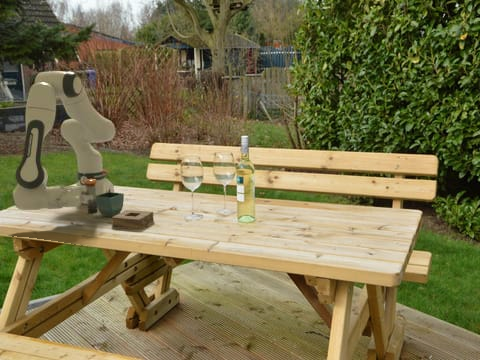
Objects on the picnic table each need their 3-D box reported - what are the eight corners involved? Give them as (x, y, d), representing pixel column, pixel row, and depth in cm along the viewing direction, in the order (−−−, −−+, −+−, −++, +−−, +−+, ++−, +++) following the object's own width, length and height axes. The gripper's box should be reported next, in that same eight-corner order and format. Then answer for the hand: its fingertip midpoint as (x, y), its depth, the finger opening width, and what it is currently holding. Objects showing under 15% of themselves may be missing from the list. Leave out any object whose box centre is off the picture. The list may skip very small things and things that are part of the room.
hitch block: (127, 219, 222) (126, 209, 222) (153, 221, 219) (153, 211, 218) (112, 227, 211) (111, 217, 210) (139, 229, 208) (139, 219, 207)
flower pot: (95, 216, 227) (94, 195, 226) (109, 211, 235) (108, 191, 233) (111, 219, 223) (110, 197, 222) (125, 214, 231) (124, 193, 229)
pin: (90, 210, 219) (88, 178, 216) (101, 211, 217) (98, 179, 214) (84, 213, 214) (81, 181, 211) (94, 214, 213) (92, 181, 210)
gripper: (53, 195, 201) (92, 193, 204) (59, 184, 220) (94, 182, 223) (55, 212, 202) (93, 209, 205) (60, 198, 222) (95, 196, 225)
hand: (93, 195), depth 214 cm, fingers closed on pin, 4 cm apart
